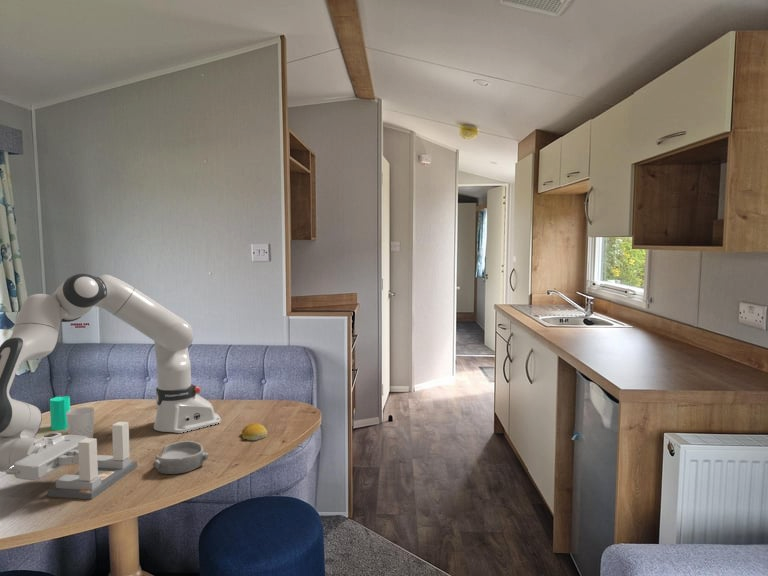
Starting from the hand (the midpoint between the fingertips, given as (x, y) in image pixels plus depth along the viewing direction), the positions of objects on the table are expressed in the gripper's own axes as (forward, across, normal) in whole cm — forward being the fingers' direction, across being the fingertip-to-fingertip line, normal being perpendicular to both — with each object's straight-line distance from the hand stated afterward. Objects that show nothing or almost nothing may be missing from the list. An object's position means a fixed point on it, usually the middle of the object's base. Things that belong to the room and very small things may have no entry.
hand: (82, 458), depth 136 cm
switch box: (-1, +6, +9) cm, 11 cm away
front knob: (+2, 0, +5) cm, 5 cm away
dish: (+17, +19, +9) cm, 27 cm away
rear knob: (+2, +13, +5) cm, 14 cm away
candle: (-40, +43, +9) cm, 60 cm away
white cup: (-24, +33, +9) cm, 42 cm away
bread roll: (+30, +45, +10) cm, 54 cm away
